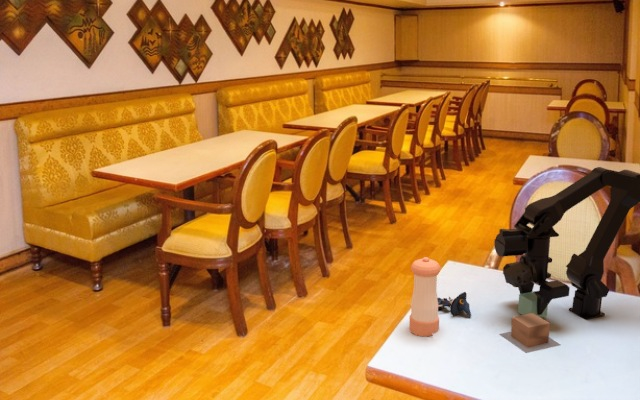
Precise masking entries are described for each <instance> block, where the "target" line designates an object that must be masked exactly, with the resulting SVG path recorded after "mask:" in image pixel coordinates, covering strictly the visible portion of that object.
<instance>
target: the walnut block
mask: <svg viewBox="0 0 640 400" xmlns="http://www.w3.org/2000/svg"><path fill="white" fill-rule="evenodd" d="M550 327H551V323H550V322H549V321H548V320H545V319H543V317H542V318H540V317H539V316H537V315H535V314H534V313H530V314H525V315H522V314H520V315H516V316H512V317H511V329H510V330H511V331H510V332H511V336H512V337H513V338H514V339H516V340H517V341H519V342H520V343H522V344H523V345H525V346H526V347H531V346H536V345H540V344H544V343H548V340H549V338H550Z"/></svg>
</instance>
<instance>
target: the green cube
mask: <svg viewBox="0 0 640 400" xmlns="http://www.w3.org/2000/svg"><path fill="white" fill-rule="evenodd" d="M533 292H535V291H534V290H533V291H532V292H528V293H523V294H520V293H519V294H518V307H517V313H519V314H520V315H525V314H530V313H534V314H535V315H537V316H539V317H540V318H542V319H543V318H546V317H547V316H548V306H549V305H548V306H547V307H546V309H545V310H544V312H543V313H542V314H541V315H538V314H537V296H536V295H535V294H534V293H533Z"/></svg>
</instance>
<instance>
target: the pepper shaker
mask: <svg viewBox="0 0 640 400" xmlns="http://www.w3.org/2000/svg"><path fill="white" fill-rule="evenodd" d="M410 270H411V272H412V273H413V276H414V277H413V278H414V279H413V291H412V296H411V302H410V303H411V305H410V311H411V312H410V315H409V326H408V329H409V332H410V333H412V334H413V335H415V336H420V337H433V336H434V334H436V333H437V332H438V331H439V330H440V317H439V315H438V314H439V309H438V299H437V298H438V291H437V289H438V288H437V284H438V283H437V281H438V275H439V273H440V272H441V266H440V264H439V263H438V261H436V260H434V259H431V258H429V257H427V256H424V257H423V258H419V259H416V260H414V261H413V263H412V264H411V267H410Z"/></svg>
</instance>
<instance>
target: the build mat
mask: <svg viewBox="0 0 640 400" xmlns="http://www.w3.org/2000/svg"><path fill="white" fill-rule="evenodd" d="M498 335H499V336H501V337H502V338H503V339H505V340H506V341H508V342H509V343H511V344H512V345H514V346H515V347H517V348H518V349H519V350H520V351H522V352H524V353H525V354H528V353H532V352H537V351H542V350H545V349H551V348H554V347H559V346H561V345H562V344H561V343H559V342H558V341H557V340H556V341H555V340H554V339H553V338H551V337H549V340H548V343H544V344H540V345H536V346H531V347H526V346H525V345H523V344H522V343H520V342H519V341H517V340H516V339H514V338H513V337H512V336H511V331H507V332H503V333H499V334H498Z"/></svg>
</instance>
